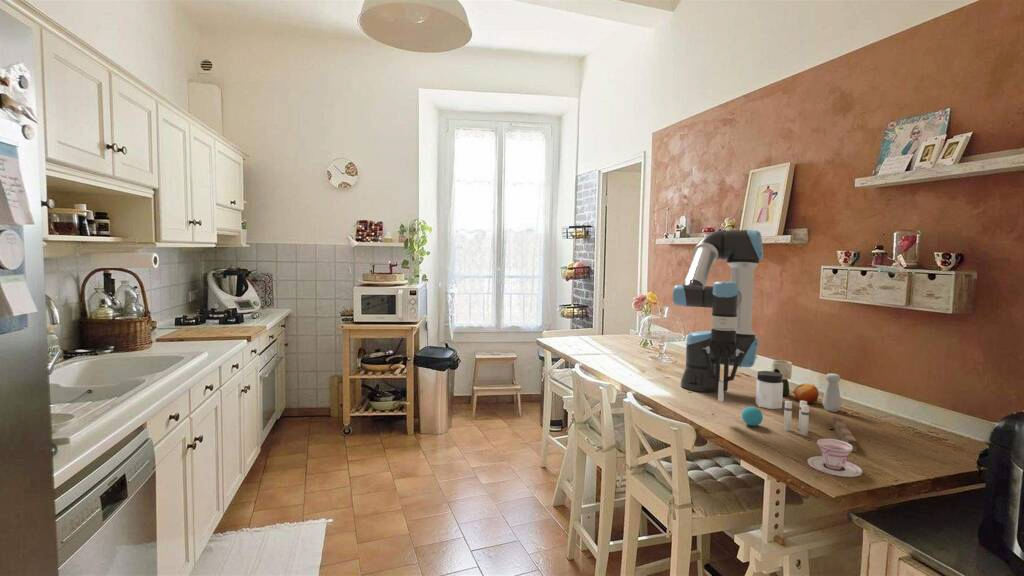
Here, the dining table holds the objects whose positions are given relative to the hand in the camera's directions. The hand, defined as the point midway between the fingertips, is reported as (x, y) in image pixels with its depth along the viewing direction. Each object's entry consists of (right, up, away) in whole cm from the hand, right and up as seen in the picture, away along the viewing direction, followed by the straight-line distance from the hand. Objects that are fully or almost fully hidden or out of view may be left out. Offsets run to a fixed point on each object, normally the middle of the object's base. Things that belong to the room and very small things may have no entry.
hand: (720, 400), depth 165 cm
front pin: (+18, -8, -8) cm, 21 cm away
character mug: (+37, -5, +33) cm, 50 cm away
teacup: (+15, -10, -35) cm, 39 cm away
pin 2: (+21, -8, -12) cm, 25 cm away
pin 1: (+23, -8, -7) cm, 25 cm away
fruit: (+42, -6, +23) cm, 48 cm away
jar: (+25, -6, +18) cm, 31 cm away
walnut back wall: (+31, -8, -13) cm, 35 cm away
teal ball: (+9, -4, -4) cm, 10 cm away
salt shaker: (+45, -7, +14) cm, 47 cm away
